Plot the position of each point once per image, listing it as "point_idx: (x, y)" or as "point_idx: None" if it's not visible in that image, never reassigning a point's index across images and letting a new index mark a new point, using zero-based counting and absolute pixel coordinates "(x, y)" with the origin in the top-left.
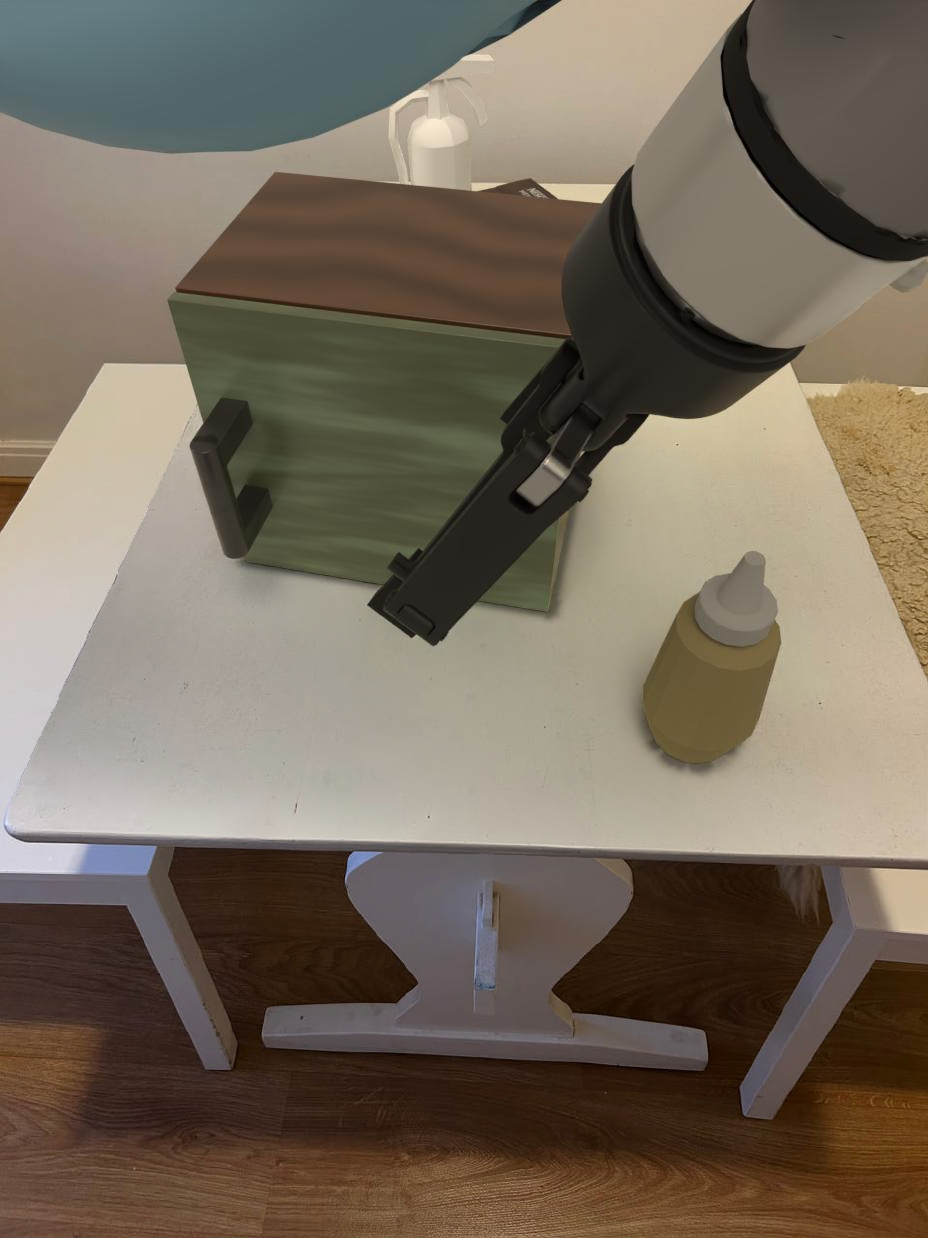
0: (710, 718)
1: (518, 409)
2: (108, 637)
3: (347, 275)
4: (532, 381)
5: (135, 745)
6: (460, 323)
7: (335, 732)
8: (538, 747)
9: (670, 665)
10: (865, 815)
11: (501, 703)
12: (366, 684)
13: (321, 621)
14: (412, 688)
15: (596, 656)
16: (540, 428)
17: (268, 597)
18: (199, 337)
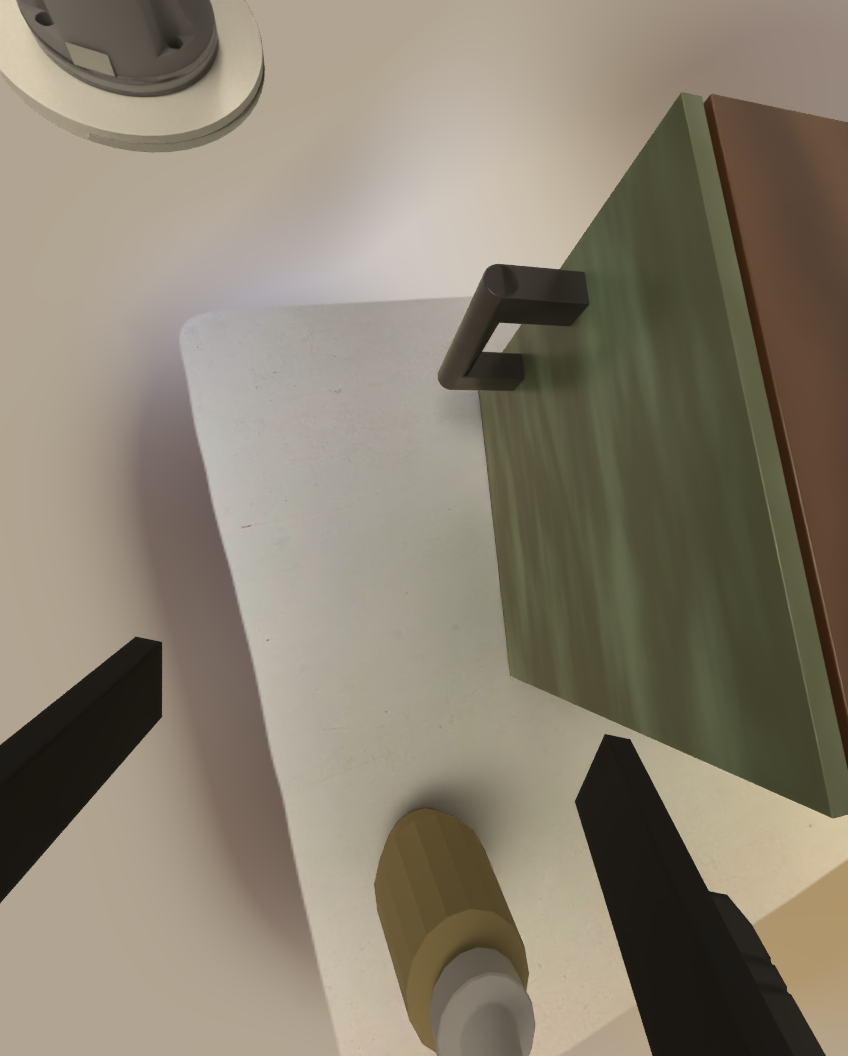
0: (386, 931)
1: (620, 796)
2: (366, 310)
3: (844, 339)
4: (675, 894)
5: (269, 375)
6: (811, 569)
7: (328, 531)
8: (363, 712)
9: (421, 892)
10: (377, 1046)
11: (399, 664)
12: (383, 539)
13: (437, 477)
14: (391, 580)
15: (476, 735)
16: (599, 836)
17: (447, 422)
18: (642, 186)
